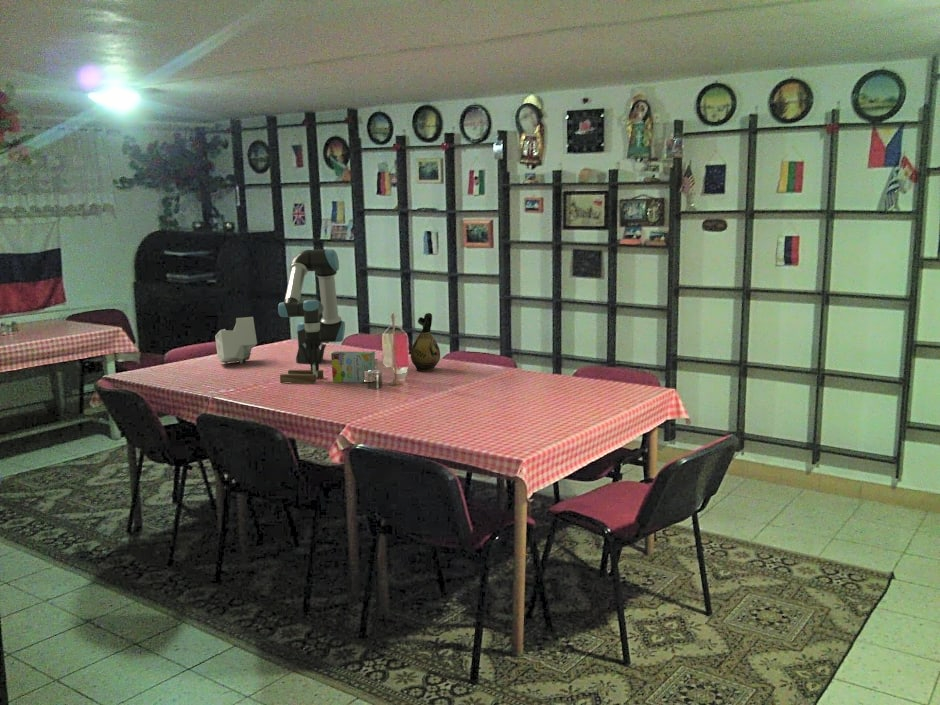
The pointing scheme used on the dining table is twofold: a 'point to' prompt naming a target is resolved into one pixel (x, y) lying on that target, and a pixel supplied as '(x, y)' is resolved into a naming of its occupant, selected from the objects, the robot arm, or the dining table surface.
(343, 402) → the dining table surface
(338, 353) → the snack box
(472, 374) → the dining table surface
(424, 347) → the ceramic jug
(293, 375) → the walnut chute
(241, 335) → the grey stepped block
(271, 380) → the dining table surface
